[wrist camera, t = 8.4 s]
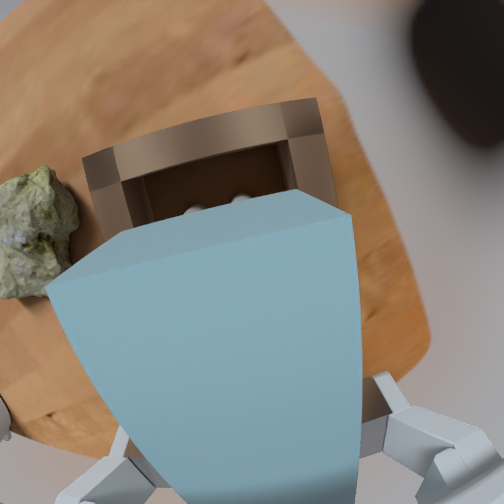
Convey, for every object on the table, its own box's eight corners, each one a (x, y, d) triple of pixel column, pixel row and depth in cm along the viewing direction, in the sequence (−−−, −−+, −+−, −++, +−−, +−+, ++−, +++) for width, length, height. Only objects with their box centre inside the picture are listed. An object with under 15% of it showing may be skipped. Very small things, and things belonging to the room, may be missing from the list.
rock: (15, 283, 22) (93, 305, 21) (-30, 309, 15) (46, 344, 15) (8, 168, 19) (89, 164, 18) (-46, 174, 13) (27, 166, 12)
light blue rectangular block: (121, 231, 8) (44, 286, 4) (296, 189, 8) (351, 214, 4) (228, 472, 12) (229, 540, 8) (331, 453, 11) (351, 520, 8)
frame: (187, 381, 24) (182, 418, 20) (111, 157, 18) (81, 158, 14) (335, 349, 24) (353, 382, 20) (297, 110, 18) (316, 97, 14)
